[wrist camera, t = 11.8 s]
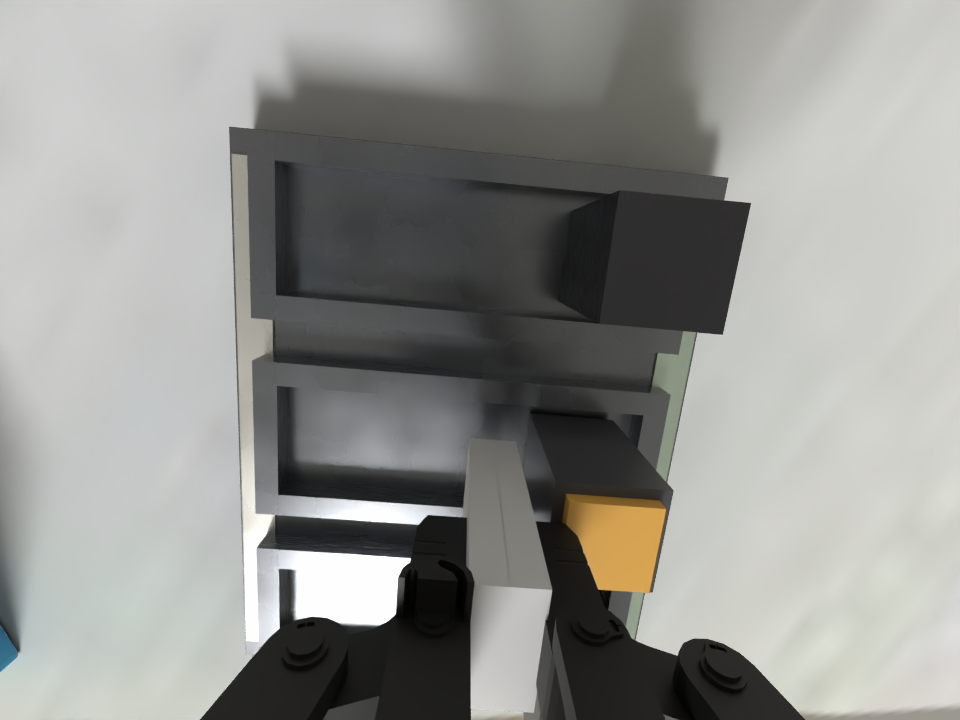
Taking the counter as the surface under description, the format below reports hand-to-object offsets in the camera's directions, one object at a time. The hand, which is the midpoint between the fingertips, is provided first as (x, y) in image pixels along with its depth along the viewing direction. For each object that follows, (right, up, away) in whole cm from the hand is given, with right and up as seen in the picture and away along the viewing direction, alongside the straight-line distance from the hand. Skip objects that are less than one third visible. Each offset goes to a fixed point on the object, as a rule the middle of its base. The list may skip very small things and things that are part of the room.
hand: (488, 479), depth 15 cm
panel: (-1, +1, +4) cm, 4 cm away
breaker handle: (+3, 0, +2) cm, 4 cm away
